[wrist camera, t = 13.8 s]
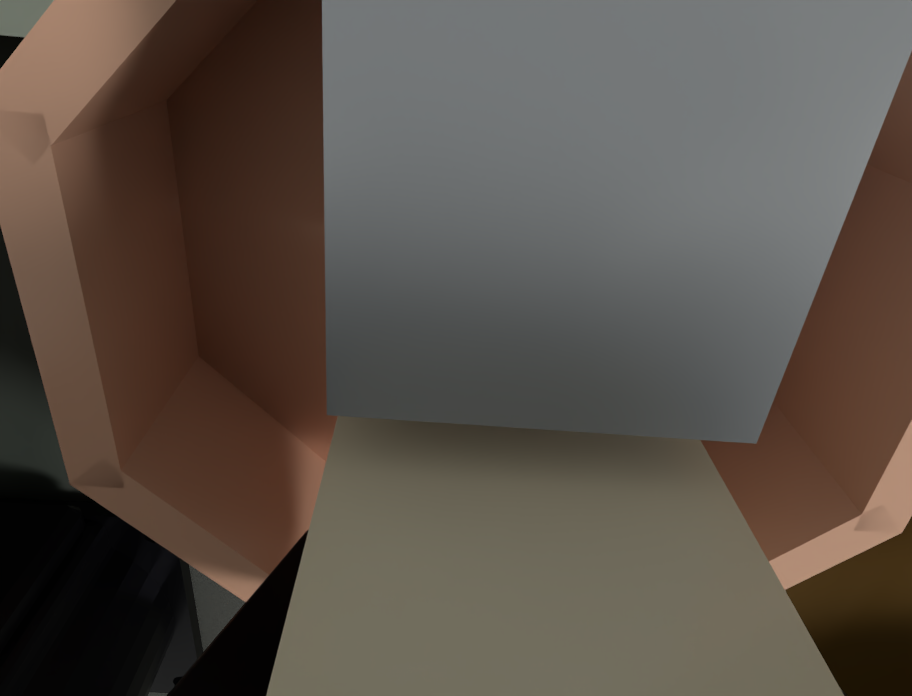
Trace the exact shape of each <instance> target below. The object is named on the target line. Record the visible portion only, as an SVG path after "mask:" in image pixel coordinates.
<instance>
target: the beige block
mask: <svg viewBox="0 0 912 696" xmlns="http://www.w3.org/2000/svg"><path fill="white" fill-rule="evenodd" d="M266 696H844V694H843V693H842V691H841V689H840V687H839V686H838V684H837V682H836V680H835V678H834V677H833V675H832V673H831V671H830V670H829V668H828V666H827V664H826V662H825V661H824V659H823V657H822V655H821V654H820V652H819V650H818V648H817V646H816V645H815V643H814V641H813V639H812V638H811V636H810V634H809V632H808V630H807V629H806V627H805V625H804V623H803V622H802V620H801V618H800V616H799V614H798V613H797V611H796V609H795V607H794V606H793V604H792V602H791V600H790V598H789V597H788V595H787V593H786V591H785V590H784V588H783V586H782V584H781V582H780V581H779V579H778V577H777V575H776V574H775V572H774V570H773V568H772V566H771V565H770V563H769V561H768V559H767V558H766V556H765V554H764V552H763V551H762V549H761V547H760V545H759V543H758V542H757V540H756V538H755V536H754V535H753V533H752V531H751V529H750V527H749V526H748V524H747V522H746V520H745V519H744V517H743V515H742V513H741V511H740V510H739V508H738V506H737V504H736V503H735V501H734V499H733V497H732V495H731V494H730V492H729V490H728V488H727V487H726V485H725V483H724V481H723V479H722V478H721V476H720V474H719V472H718V471H717V469H716V467H715V465H714V463H713V462H712V460H711V458H710V456H709V455H708V453H707V451H706V449H705V447H704V446H703V444H702V442H701V440H693V439H678V438H663V437H648V436H633V435H618V434H603V433H588V432H573V431H558V430H543V429H528V428H512V427H497V426H482V425H467V424H452V423H437V422H422V421H407V420H392V419H377V418H362V417H347V416H338V417H337V421H336V425H335V429H334V433H333V437H332V441H331V445H330V448H329V452H328V456H327V460H326V464H325V468H324V472H323V476H322V480H321V484H320V488H319V491H318V495H317V499H316V503H315V507H314V511H313V515H312V519H311V523H310V527H309V530H308V534H307V538H306V542H305V546H304V550H303V554H302V558H301V562H300V566H299V569H298V573H297V577H296V581H295V585H294V589H293V593H292V597H291V601H290V605H289V609H288V612H287V616H286V620H285V624H284V628H283V632H282V636H281V640H280V644H279V648H278V651H277V655H276V659H275V663H274V667H273V671H272V675H271V679H270V683H269V687H268V691H267V694H266Z"/></svg>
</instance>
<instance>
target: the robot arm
mask: <svg viewBox="0 0 912 696" xmlns="http://www.w3.org/2000/svg"><path fill="white" fill-rule="evenodd" d="M307 534H308V530H307V531H306V532H305V533H304V534H303V536H302V537H301V538H300V539H299V540H298V541H297V543H296V544H295V545H294V546H293V547H292V548H291V550H290V551H289V552H288V553H287V554H286V556H285V557H284V558H283V559H282V560H281V561H280V563H279V564H278V565H277V566H276V567H275V569H274V570H273V571H272V572H271V573H270V574H269V576H268V577H267V578H266V579H265V580H264V581H263V583H262V584H261V585H260V586H259V587H258V589H257V590H256V591H255V592H254V593H253V594H252V596H251V597H250V598H249V599H248V600H247V601H246V603H245V604H244V605H243V606H242V607H241V609H240V610H239V611H238V612H237V613H236V614H235V616H234V617H233V618H232V619H231V620H230V621H229V623H228V624H227V625H226V626H225V627H224V629H223V630H222V631H221V632H220V633H219V634H218V636H217V637H216V638H215V639H214V640H213V642H212V643H211V644H210V645H209V646H208V647H207V649H206V650H205V651H204V652H203V648H202V642H201V636H200V630H199V624H198V618H197V612H196V606H195V600H194V594H193V588H192V582H191V576H190V569H189V564H188V563H186V562H185V561H184V560H182V559H181V558H179V557H178V556H176V555H175V554H173V553H172V552H170V551H169V550H167V549H166V548H164V547H163V546H161V545H160V544H158V543H157V542H155V541H154V540H152V539H151V538H149V537H148V536H146V535H145V534H143V533H142V532H140V531H139V530H137V529H136V528H134V527H133V526H131V525H130V524H128V523H127V522H125V521H124V520H122V519H121V518H119V517H118V516H116V515H115V514H113V513H112V512H110V511H109V510H107V509H106V508H104V507H103V506H101V505H100V504H99V503H85V502H67V501H50V500H32V499H14V498H0V696H148V694H149V692H157V693H168V694H167V696H266V694H267V691H268V687H269V683H270V679H271V675H272V671H273V667H274V663H275V659H276V655H277V651H278V648H279V644H280V640H281V636H282V632H283V628H284V624H285V620H286V616H287V612H288V609H289V605H290V601H291V597H292V593H293V589H294V585H295V581H296V577H297V573H298V569H299V566H300V562H301V558H302V554H303V550H304V546H305V542H306V538H307ZM841 691H842V693H843V694H844V696H848V695H847V694H846V693H845V692H844V691H843V690H842V689H841Z"/></svg>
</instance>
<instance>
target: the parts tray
mask: <svg viewBox="0 0 912 696" xmlns="http://www.w3.org/2000/svg"><path fill="white" fill-rule="evenodd" d="M53 1H54V0H0V35H5V36H16V37H26V35H27V34H28V33H29V32H30V30H31V29H32V28H33V26H34V25H35V24H36V23H37V21H38V20H39V19H40V17H41V16H42V15H43V14H44V12H45V11H46V10H47V9H48V7H49V6H50V5H51V3H52V2H53Z"/></svg>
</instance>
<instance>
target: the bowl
mask: <svg viewBox="0 0 912 696" xmlns="http://www.w3.org/2000/svg"><path fill="white" fill-rule="evenodd" d="M0 226H1V229H2V233H3V237H4V241H5V244H6V248H7V252H8V255H9V259H10V263H11V267H12V270H13V274H14V278H15V282H16V285H17V289H18V293H19V296H20V300H21V304H22V308H23V311H24V315H25V319H26V322H27V326H28V330H29V334H30V337H31V341H32V345H33V348H34V352H35V356H36V360H37V363H38V367H39V371H40V374H41V378H42V382H43V386H44V389H45V393H46V397H47V400H48V404H49V408H50V412H51V415H52V419H53V423H54V427H55V430H56V434H57V438H58V441H59V445H60V449H61V453H62V456H63V460H64V464H65V467H66V471H67V475H68V479H69V482H70V485H72V486H73V487H75V488H76V489H78V490H79V491H81V492H82V493H84V494H85V495H87V496H88V497H90V498H91V499H93V500H94V501H96V502H97V503H99V504H100V505H101V506H103V507H104V508H106V509H107V510H109V511H110V512H112V513H113V514H115V515H116V516H118V517H119V518H121V519H122V520H124V521H125V522H127V523H128V524H130V525H131V526H133V527H134V528H136V529H137V530H139V531H140V532H142V533H143V534H145V535H146V536H148V537H149V538H151V539H152V540H154V541H155V542H157V543H158V544H160V545H161V546H163V547H164V548H166V549H167V550H169V551H170V552H172V553H173V554H175V555H176V556H178V557H179V558H181V559H182V560H184V561H185V562H186V563H188V564H189V565H191V566H192V567H194V568H195V569H197V570H198V571H200V572H201V573H203V574H204V575H206V576H207V577H209V578H210V579H212V580H213V581H215V582H216V583H218V584H219V585H221V586H222V587H224V588H225V589H227V590H228V591H230V592H231V593H233V594H234V595H236V596H237V597H239V598H240V599H242V600H243V601H245V602H246V601H247V600H248V599H249V598H250V597H251V596H252V594H253V593H254V592H255V591H256V590H257V589H258V587H259V586H260V585H261V584H262V583H263V581H264V580H265V579H266V578H267V577H268V576H269V574H270V573H271V572H272V571H273V570H274V569H275V567H276V566H277V565H278V564H279V563H280V561H281V560H282V559H283V558H284V557H285V556H286V554H287V553H288V552H289V551H290V550H291V548H292V547H293V546H294V545H295V544H296V543H297V541H298V540H299V539H300V538H301V537H302V536H303V534H304V533H305V532H306V531H307V530H309V527H310V523H311V519H312V515H313V511H314V507H315V503H316V499H317V495H318V491H319V488H320V484H321V480H322V476H323V472H324V468H325V464H326V460H327V456H328V452H329V448H330V445H331V441H332V437H333V433H334V429H335V425H336V421H337V417H338V416H331V415H327V392H326V308H325V224H324V140H323V56H322V0H54V1H53V2H52V3H51V5H50V6H49V7H48V9H47V10H46V11H45V12H44V14H43V15H42V16H41V17H40V19H39V20H38V21H37V23H36V24H35V25H34V26H33V28H32V29H31V30H30V32H29V33H28V34H27V35H26V37H25V38H24V39H23V41H22V42H21V43H20V44H19V46H18V47H17V48H16V49H15V51H14V52H13V53H12V55H11V56H10V57H9V58H8V60H7V61H6V62H5V64H4V65H3V66H2V67H1V69H0ZM701 442H702V444H703V446H704V447H705V449H706V451H707V453H708V455H709V456H710V458H711V460H712V462H713V463H714V465H715V467H716V469H717V471H718V472H719V474H720V476H721V478H722V479H723V481H724V483H725V485H726V487H727V488H728V490H729V492H730V494H731V495H732V497H733V499H734V501H735V503H736V504H737V506H738V508H739V510H740V511H741V513H742V515H743V517H744V519H745V520H746V522H747V524H748V526H749V527H750V529H751V531H752V533H753V535H754V536H755V538H756V540H757V542H758V543H759V545H760V547H761V549H762V551H763V552H764V554H765V556H766V558H767V559H768V561H769V563H770V565H771V566H772V568H773V570H774V572H775V574H776V575H777V577H778V579H779V581H780V582H781V584H782V586H783V588H784V590H785V589H787V588H789V587H792V586H794V585H796V584H798V583H800V582H802V581H804V580H806V579H808V578H810V577H812V576H814V575H816V574H818V573H820V572H822V571H824V570H826V569H828V568H830V567H833V566H835V565H837V564H839V563H841V562H843V561H845V560H847V559H849V558H851V557H853V556H855V555H857V554H859V553H861V552H863V551H865V550H867V549H869V548H871V547H874V546H876V545H878V544H880V543H882V542H884V541H886V540H888V539H890V538H892V537H894V536H896V535H898V534H900V533H902V532H903V530H904V528H905V527H906V525H907V523H908V521H909V520H910V518H911V516H912V51H911V54H910V56H909V59H908V61H907V64H906V66H905V69H904V71H903V74H902V77H901V79H900V82H899V84H898V87H897V89H896V92H895V94H894V97H893V99H892V102H891V104H890V107H889V109H888V112H887V115H886V117H885V120H884V122H883V125H882V127H881V130H880V132H879V135H878V137H877V140H876V142H875V145H874V147H873V150H872V152H871V155H870V158H869V160H868V163H867V165H866V168H865V170H864V173H863V175H862V178H861V180H860V183H859V185H858V188H857V190H856V193H855V196H854V198H853V201H852V203H851V206H850V208H849V211H848V213H847V216H846V218H845V221H844V223H843V226H842V228H841V231H840V233H839V236H838V239H837V241H836V244H835V246H834V249H833V251H832V254H831V256H830V259H829V261H828V264H827V266H826V269H825V271H824V274H823V276H822V279H821V282H820V284H819V287H818V289H817V292H816V294H815V297H814V299H813V302H812V304H811V307H810V309H809V312H808V314H807V317H806V320H805V322H804V325H803V327H802V330H801V332H800V335H799V337H798V340H797V342H796V345H795V347H794V350H793V352H792V355H791V357H790V360H789V363H788V365H787V368H786V370H785V373H784V375H783V378H782V380H781V383H780V385H779V388H778V390H777V393H776V395H775V398H774V401H773V403H772V406H771V408H770V411H769V413H768V416H767V418H766V421H765V423H764V426H763V428H762V431H761V433H760V436H759V438H758V441H757V444H754V443H739V442H724V441H709V440H701Z"/></svg>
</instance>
